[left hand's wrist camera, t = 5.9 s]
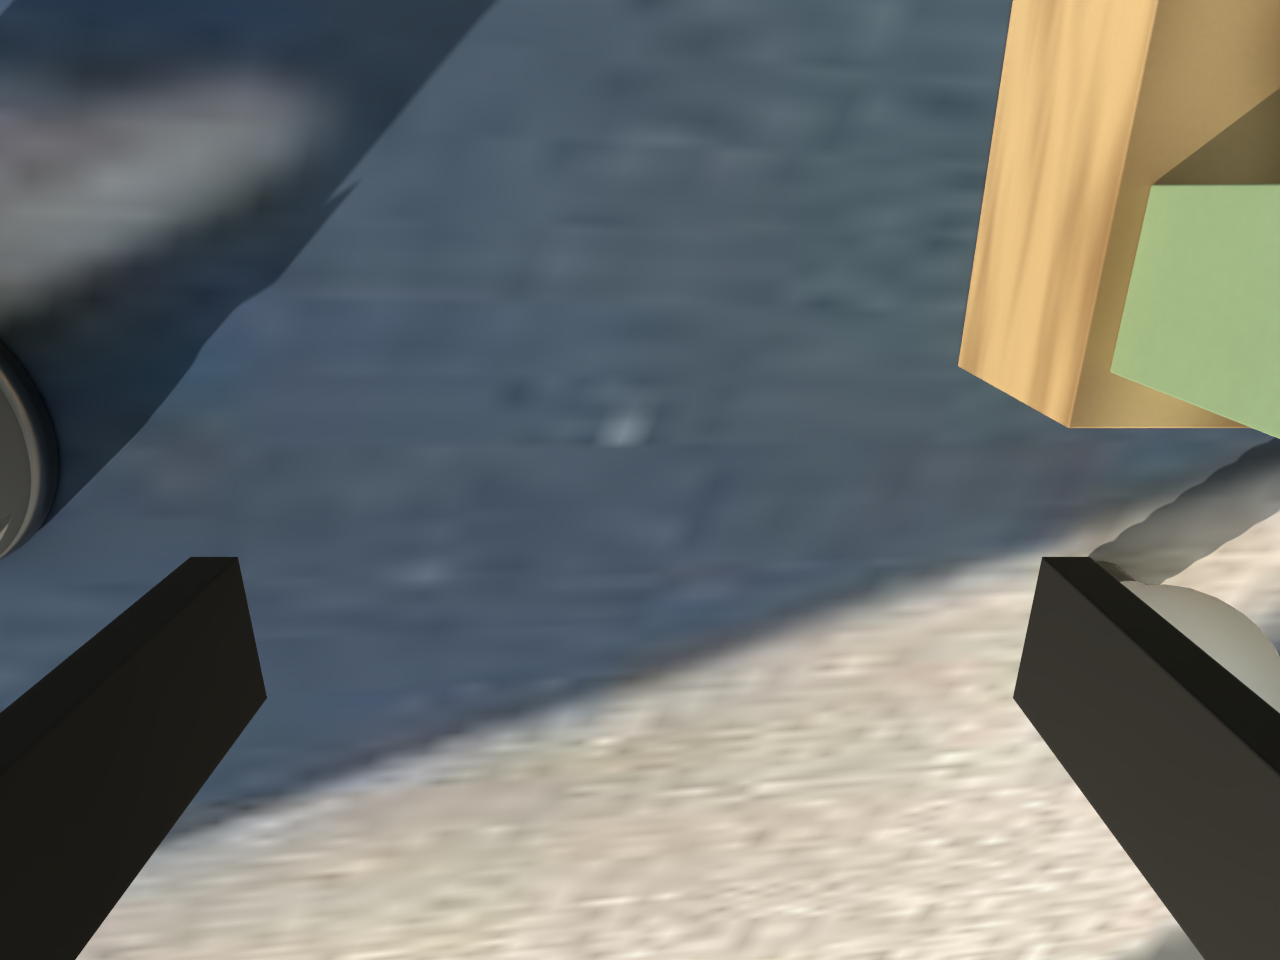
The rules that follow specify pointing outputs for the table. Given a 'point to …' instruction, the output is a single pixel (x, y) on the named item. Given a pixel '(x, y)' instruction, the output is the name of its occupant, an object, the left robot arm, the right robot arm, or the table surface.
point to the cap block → (1208, 301)
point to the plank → (1106, 184)
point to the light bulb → (1214, 632)
